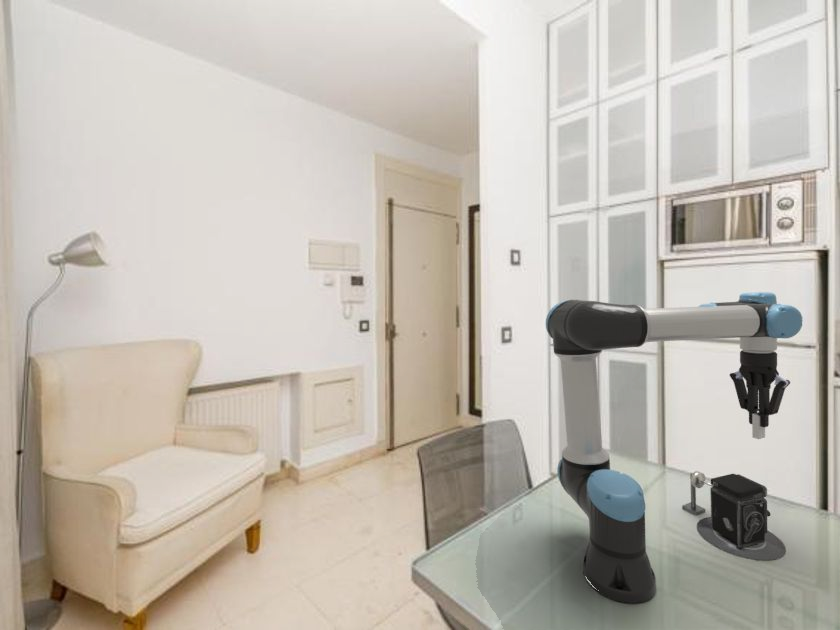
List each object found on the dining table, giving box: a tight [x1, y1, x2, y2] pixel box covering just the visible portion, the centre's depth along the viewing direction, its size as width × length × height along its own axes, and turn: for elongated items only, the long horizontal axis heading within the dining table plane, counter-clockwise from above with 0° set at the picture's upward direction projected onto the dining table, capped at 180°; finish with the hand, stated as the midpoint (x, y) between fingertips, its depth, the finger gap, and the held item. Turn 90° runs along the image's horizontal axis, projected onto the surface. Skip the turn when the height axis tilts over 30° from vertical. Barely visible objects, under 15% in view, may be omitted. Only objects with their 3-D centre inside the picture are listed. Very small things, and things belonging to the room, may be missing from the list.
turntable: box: [696, 516, 786, 562], centre depth 103 cm, size 18×18×1 cm
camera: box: [709, 473, 771, 547], centre depth 103 cm, size 10×11×15 cm
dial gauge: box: [681, 470, 714, 516], centre depth 114 cm, size 4×8×12 cm, turn 21°
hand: (758, 437), depth 106 cm, fingers closed
